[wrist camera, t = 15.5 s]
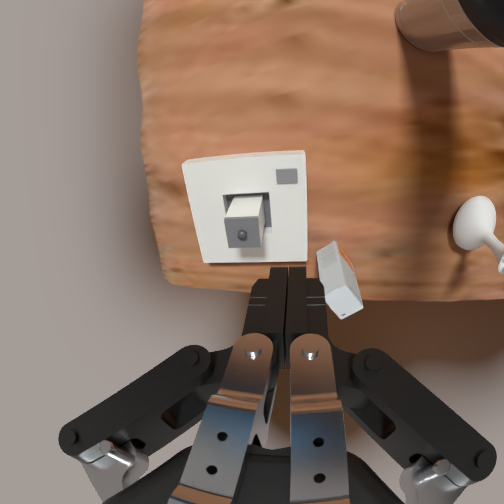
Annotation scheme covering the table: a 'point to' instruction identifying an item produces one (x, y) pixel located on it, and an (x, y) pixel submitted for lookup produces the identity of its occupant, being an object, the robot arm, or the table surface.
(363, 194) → the table surface
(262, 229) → the plug
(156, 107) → the table surface
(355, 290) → the skincare box
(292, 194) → the socket plate
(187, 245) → the table surface
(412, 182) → the table surface
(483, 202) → the flower in vase
